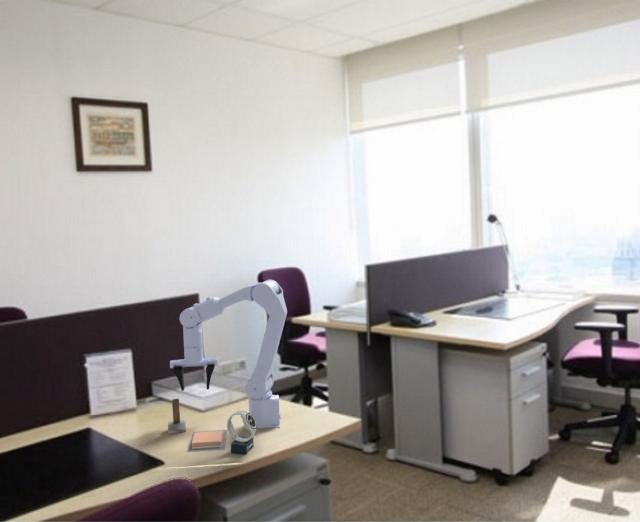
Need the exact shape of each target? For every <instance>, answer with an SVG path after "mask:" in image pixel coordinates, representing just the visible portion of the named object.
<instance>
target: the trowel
mask: <svg viewBox="0 0 640 522" xmlns="http://www.w3.org/2000/svg"><path fill="white" fill-rule="evenodd" d="M171 404H172V406H171V407H172V421H167V434H175V433H176V434H178V433H186V431H187V424H186V423H187V422H186V419H185V420H181V412H180V398H173V399H172V400H171Z"/></svg>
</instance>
